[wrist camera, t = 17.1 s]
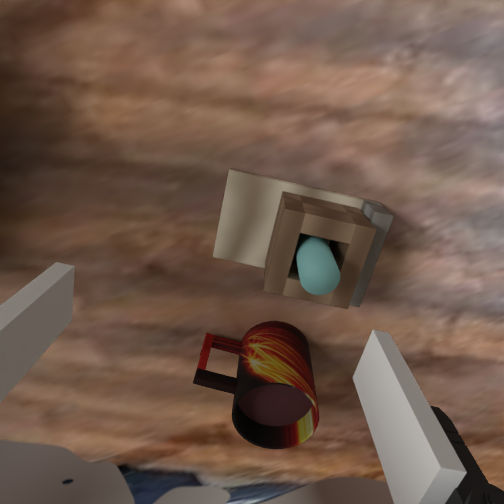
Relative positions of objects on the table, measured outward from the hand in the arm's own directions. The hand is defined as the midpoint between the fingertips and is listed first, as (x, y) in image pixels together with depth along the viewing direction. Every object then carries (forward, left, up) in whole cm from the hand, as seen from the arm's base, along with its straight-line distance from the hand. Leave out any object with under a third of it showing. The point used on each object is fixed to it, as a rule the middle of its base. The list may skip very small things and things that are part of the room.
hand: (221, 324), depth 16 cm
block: (+8, -4, -28) cm, 30 cm away
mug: (+6, -23, -30) cm, 38 cm away
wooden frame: (+5, -4, -29) cm, 30 cm away
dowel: (+8, -4, -28) cm, 30 cm away
